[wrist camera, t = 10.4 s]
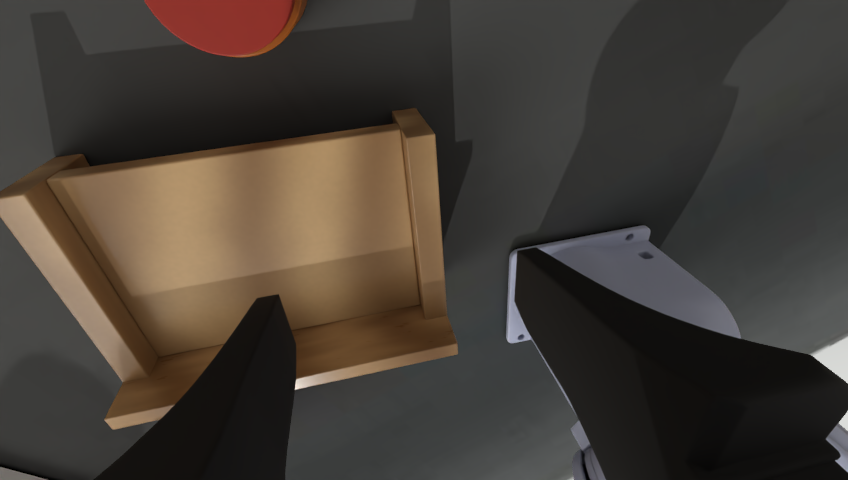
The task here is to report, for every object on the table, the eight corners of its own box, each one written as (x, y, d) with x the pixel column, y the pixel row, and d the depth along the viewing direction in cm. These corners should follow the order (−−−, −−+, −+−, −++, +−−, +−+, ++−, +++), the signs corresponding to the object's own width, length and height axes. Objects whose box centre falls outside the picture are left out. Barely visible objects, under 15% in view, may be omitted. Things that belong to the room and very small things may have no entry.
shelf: (415, 107, 20) (448, 150, 14) (431, 279, 25) (458, 354, 20) (53, 157, 18) (-60, 228, 12) (159, 332, 23) (112, 430, 18)
